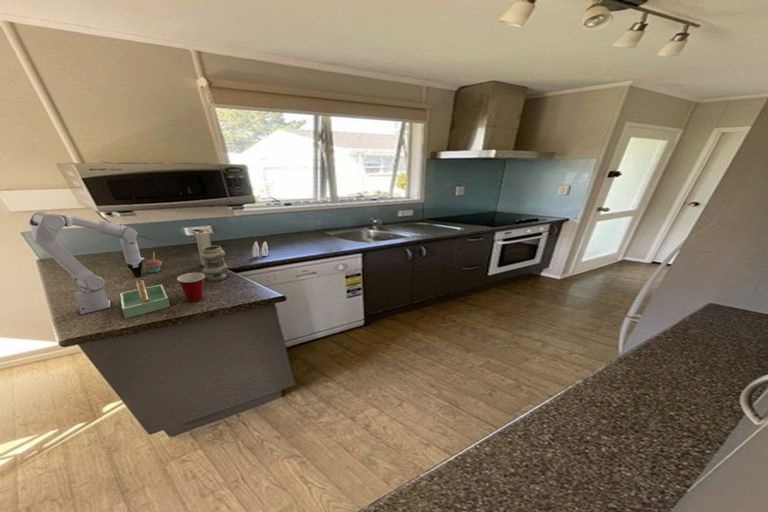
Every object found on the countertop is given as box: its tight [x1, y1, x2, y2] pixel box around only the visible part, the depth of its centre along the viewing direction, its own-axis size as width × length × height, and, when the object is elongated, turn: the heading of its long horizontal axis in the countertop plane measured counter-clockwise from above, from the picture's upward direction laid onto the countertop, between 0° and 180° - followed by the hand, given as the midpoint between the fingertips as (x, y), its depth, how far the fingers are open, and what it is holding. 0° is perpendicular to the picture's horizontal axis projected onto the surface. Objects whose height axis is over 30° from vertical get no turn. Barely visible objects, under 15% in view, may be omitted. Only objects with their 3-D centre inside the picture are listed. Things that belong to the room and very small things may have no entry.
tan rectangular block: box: [135, 279, 150, 304], centre depth 133 cm, size 3×15×8 cm, turn 43°
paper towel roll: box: [195, 230, 212, 267], centre depth 178 cm, size 7×6×21 cm
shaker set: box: [252, 241, 269, 259], centre depth 196 cm, size 12×4×11 cm, turn 144°
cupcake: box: [142, 252, 163, 273], centre depth 167 cm, size 9×8×12 cm
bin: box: [119, 283, 171, 319], centre depth 131 cm, size 16×20×4 cm
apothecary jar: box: [201, 245, 229, 282], centre depth 159 cm, size 12×12×18 cm
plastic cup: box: [176, 272, 206, 303], centre depth 135 cm, size 11×11×12 cm
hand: (138, 277), depth 141 cm, fingers closed
